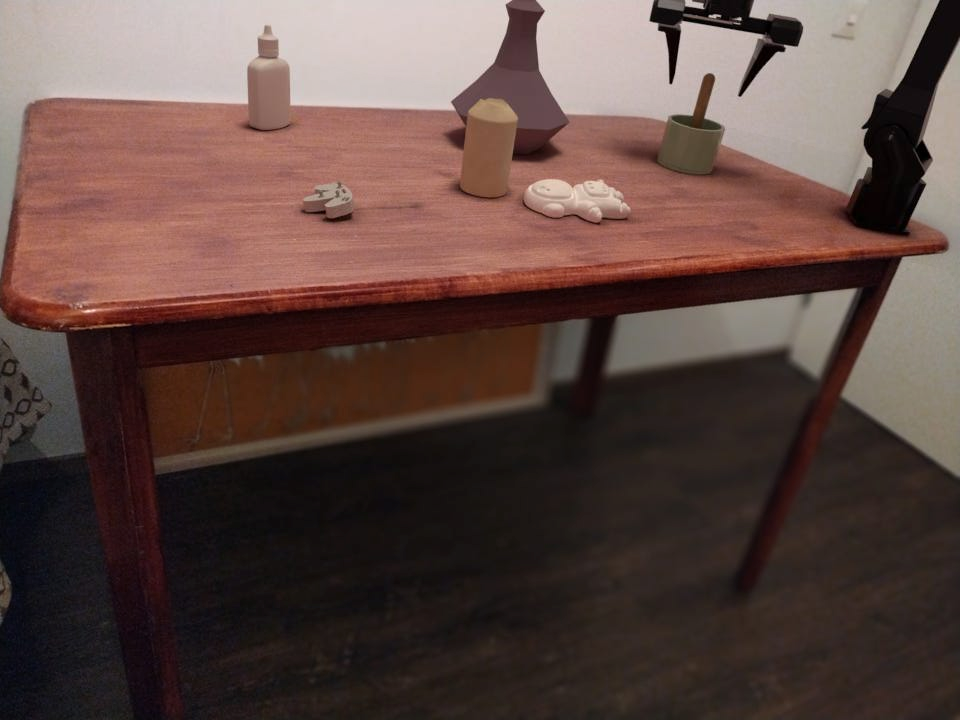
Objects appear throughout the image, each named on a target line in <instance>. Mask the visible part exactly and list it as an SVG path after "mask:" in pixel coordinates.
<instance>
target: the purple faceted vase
mask: <svg viewBox="0 0 960 720" xmlns="http://www.w3.org/2000/svg"><path fill="white" fill-rule="evenodd" d="M505 8H506V12H507V16H508V22H507V27H506V31H505V35H504V36H503V40H502V42H501V44H500V47H499V49H498V52H497V54H496V56H495V59H494V62H493V63H492V64H491V65H490V66H489V67H488V68H487V69H486V70H485V71H484V72H483V73H482V74H481V75H480V76H479V77H478V78H477V79H476V80H475V81H474V82H473V83H471V84H470V85H469V86H467V87H466V88H465V89H464V90H463V91H462V92H460V93H459V94H458V95H457V96H456V97H454V98H453V99H452V100H451V101H450V103H451V105H452V106H453V108H454V110H455V111H456V114H457V115H458V117H459V118H460V120H461V122H462V123H463V125H464V126H465V127H466V126H467V117H468V111H469V110H470V109H471V108H472V107H473V106H474V105H475V104H476V103H477V102H478V101H479V100H480V99H483V100H486V99H488V98H493V99H502V100H504V101H505V102H506V103H507V104H508V105H509V106H510V108H511V109H512V110H513V111H514V113H515V114H516V116H517V117H518V122H517V128H516V135H515V141H514V148H513V154H518V155H527V154H530V153H532V152H535V151H537V150H540V149H541V147H542V146H544V145H545V144H546V143H548V142H549V141H550V140H551V139H552V138H553V137H554V136H556V135H557V134H558V133H559V132H560V131H561V130H562V129H564V128H565V127H566V126H567V125H568V124H570V120H569V118H568V117H567V115H566V114H565V113H564V111H563V109H562V108H561V106H560V104H559V103H558V101H557V100H556V99H555V97H554V95H553V94H552V92H551V90H550V88H549V86H548V83H547V82H546V81H545V78H544V77H543V75H542V73H541V71H540V64H539V55H538V54H539V52H538V43H537V34H538V23H539V21H541V19H542V17H543V15H544V14H545V12H546V10H545V9H544V8H543V7H542V5H541V4H540V3H539V2H538V1H537V0H510V1H509V2H507V3H505Z"/></svg>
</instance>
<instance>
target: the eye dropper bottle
mask: <svg viewBox="0 0 960 720" xmlns="http://www.w3.org/2000/svg"><path fill="white" fill-rule="evenodd" d="M279 51H280V49H279V38H278V37H277V36H275V35H274V34H273V31H272V25H271V24H264V27H263V33H262V34H261V35H258V36H257V54H258V55H257V57H255V58H253V59H252V60H250V62H249V63H248V64H247V68H246V69H247V70H246V75H247V78H246V79H247V81H246V82H247V106H248V107H247V108H248V124H249V126H250V127H252V128H253V129H257V130H260V131H272V130H278V129H279V130H280V129H282V128H285V127H288V126H290V123H291V70H290V64H289V62H288V61H287V60H285V59H283V58H281V57H279V55H280V53H279Z"/></svg>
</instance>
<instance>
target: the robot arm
mask: <svg viewBox="0 0 960 720" xmlns="http://www.w3.org/2000/svg"><path fill="white" fill-rule="evenodd" d="M691 1H692V3H698V4H699V3H700V4H702V8H700V7H695V6H688V5H686V0H653V1H652V5H651V10H650V14H649V19H648V20H649V21H648V22H650V23H653V24H657V31H658V32H662V33H664V34H665V40H666V46H667V54H668V56H667V57H668V84H669V85H673V82H674V80H675V76H676V71H677V64H678V56H679V50H680V49H679V48H680V43H681V35H682V28H681V25H682V23H683V22H686V23H691V24H697V25H698V24H699V25H703V26H708V27H715V28H721V29H727V30H732V31H738V32H744V33H750V34H756V35H761V37H762V38H760V37H759V38H757V41H756V44H755V46H754V47H755V48H754V50H753V53H752V55H751V58H750V60H749V63H748V65H747V68H746V70H745V72H744V75H743V76H742V79H741V81H740V85H739V88H738V92H737V97H739V98H741V97H743V95H744V94H745V92H746V91H747V89H748V88H749V87H750V85H751V84H752V83H753V81H754V80H755V78H756V77H757V76H758V75H759V73H760V72H761V70H762V69H763V68H764V67H765V66H766V65H767V64H768V63H769V62H770V60H771V59H772V58H773V57H774V56H775V55H776V54H777V53H785V52H786V50H787V47H785V46H788V47H795V48H796V47H797V48H798V47H799V44H800V42H801V40H802V39H801V38H802V36H803V33H804V25H803V24H802V21H800V20H799V19H798V18H796V17H792V16H786V15H780V14H775V13H769V14H768V15H767V17H766V19H765V18H760V17H754V16H751V12H752V11H753V10H752V9H753V6H754V3H755V0H691ZM714 15H715V17H711V16H714ZM740 19H741V20H740ZM959 43H960V0H938V3H937V4H936V7H935V9H934V11H933V13H932V15H931V17H930V19H929V22H928V23H927V26H926V29H925V30H924V32H923V34H922V36H921V39H920V41H919V43H918V45H917V48H916V50H915V52H914V54H913V56H912V58H911V61H910V63H909V65H908V67H907V69H906V71H905V73H904V75H903V77H902V79H901V80H900V82H899V83H898V85H897V86H896V88H895V89H894V90H891V89H888V88H884V89H883V90H881V91H880V92H879V93H877V94H876V97H875V99H874V101H873V107H872V111H871V114H870V116H869V118H868V119H867V121H866V122H865V123H864V124H863V125H862V126H861V130H866V131H865V133H864V137H863V147H864V149H865V152H866V154H867V156H868V157H869V158H871V166H867V168H866V171H865V172H864V175H863V177H862V178H861V177H860V178H858V179H857V181H856V183H855V186H854V188H853V190H852V193H851V195H850V198H849V200H848V203H847V205H846V206H845V211H846V212H847V214H848V216H849V217H850V219H851V220H852V222H853V224H854V225H856V226H858V227H862V228H867V229H871V230H877V231H883V232H888V233H894V234H899V235H903V236H910V234H911V230H910V228H909V227H908V225H909V223H910V221H911V219H912V216H913V214H914V212H915V210H916V208H917V206H918V203H919V202H920V199H921V197H922V195H923V193H924V192H925V191H924V190H925V188H926V186H927V182H925V180H923V177H924V176H925V175H926V173H927V172H928V170H929V168H930V167H931V165H932V163H933V162H934V158H933V157H932V154H931V152H930V150H929V148H928V146H927V144H926V143H925V141H924V137H925V134H926V130H927V128H928V124H929V121H930V117H931V113H932V111H933V106H934V103H935V99H936V95H937V92H938V88H939V84H940V82H941V80H942V78H943V75H944V74H945V71H946V70H947V68H948V65H949V63H950V61H951V59H952V57H953V56H954V54H955V51H956V49H957V48H958V46H959Z"/></svg>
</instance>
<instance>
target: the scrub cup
mask: <svg viewBox="0 0 960 720" xmlns="http://www.w3.org/2000/svg"><path fill="white" fill-rule="evenodd" d="M692 116H693V114H692V115H691V114H678V113H677V114H671V115H668V116H667V118H666V123H665V126H664V130H663V133H662V138H661V141H660V145H659V149H658V153H657V157H656V161H657V163H658V164H660V165H661V166H663V167H665V168H666V169H669V170H672V171H675V172H679V173H683V174H689V175H697V176H698V175H701V176H702V175H709V174H711V173H712V172H713V171H714V167H715V164H716V161H717V158H718V155H719V151H720V148H721V145H722V141H723V138H724V135H725V132H726V127H725V126H724V125H723V124H721V123H720V122H718V121H715V120H712V119H709V118H706V117H705V118H704V121H703V124H702V128H701V129H697V128H692V127H690V123H691V120H692Z"/></svg>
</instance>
